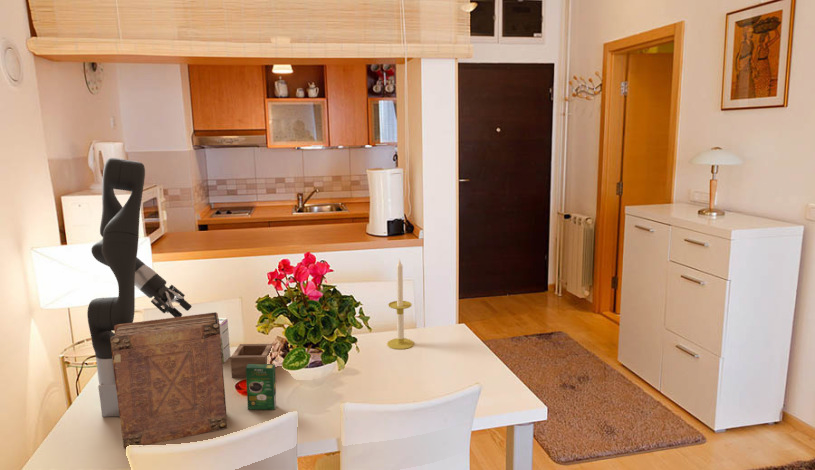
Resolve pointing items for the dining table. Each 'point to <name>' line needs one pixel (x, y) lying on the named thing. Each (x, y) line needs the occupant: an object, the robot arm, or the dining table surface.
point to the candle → (400, 314)
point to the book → (169, 378)
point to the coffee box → (261, 386)
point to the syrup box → (224, 339)
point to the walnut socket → (248, 357)
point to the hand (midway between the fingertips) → (185, 312)
